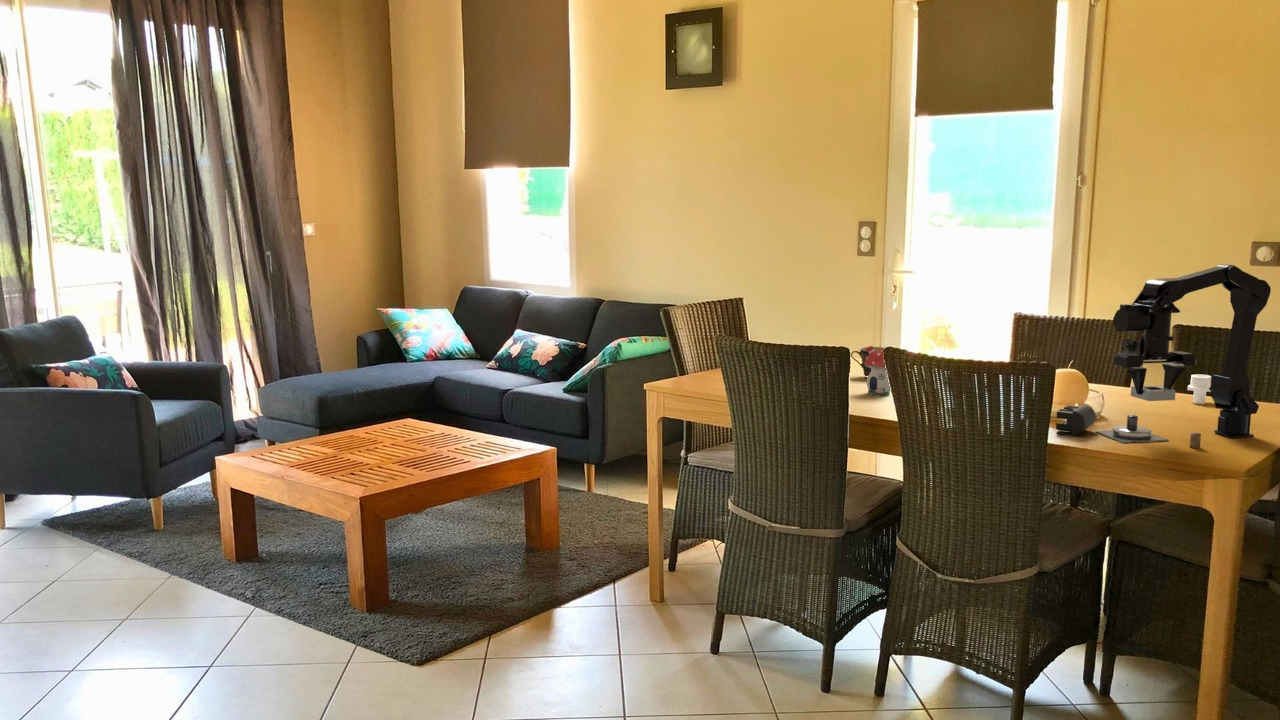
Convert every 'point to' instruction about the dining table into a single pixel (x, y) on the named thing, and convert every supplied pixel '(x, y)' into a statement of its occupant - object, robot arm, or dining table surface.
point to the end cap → (1075, 420)
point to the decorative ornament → (877, 373)
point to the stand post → (1195, 440)
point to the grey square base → (1154, 393)
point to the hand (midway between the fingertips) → (1152, 393)
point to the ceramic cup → (864, 355)
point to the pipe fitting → (1200, 387)
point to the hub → (1131, 432)
